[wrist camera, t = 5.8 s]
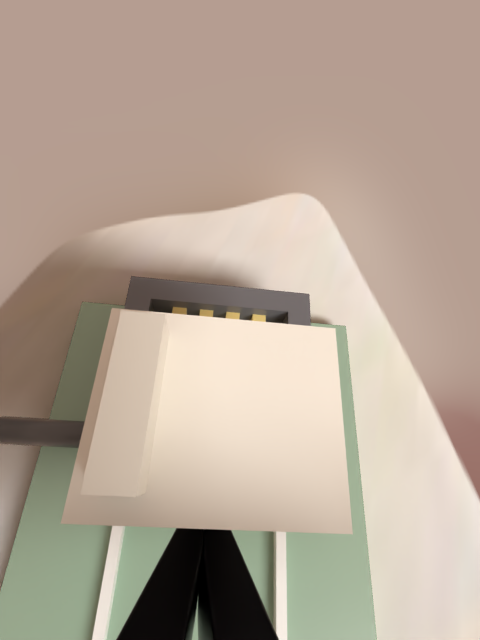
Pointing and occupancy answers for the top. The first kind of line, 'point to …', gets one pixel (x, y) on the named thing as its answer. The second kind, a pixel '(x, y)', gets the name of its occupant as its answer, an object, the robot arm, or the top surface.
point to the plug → (206, 428)
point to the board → (150, 542)
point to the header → (218, 301)
